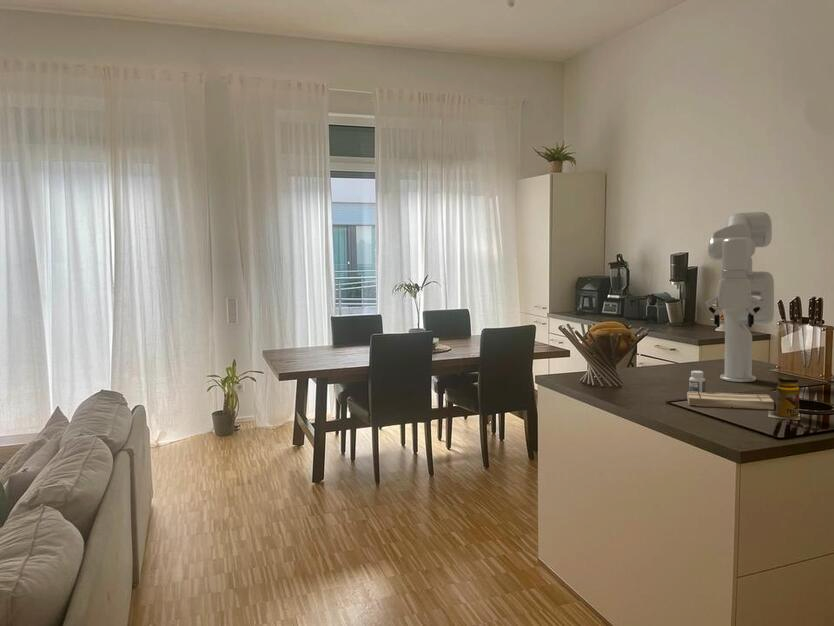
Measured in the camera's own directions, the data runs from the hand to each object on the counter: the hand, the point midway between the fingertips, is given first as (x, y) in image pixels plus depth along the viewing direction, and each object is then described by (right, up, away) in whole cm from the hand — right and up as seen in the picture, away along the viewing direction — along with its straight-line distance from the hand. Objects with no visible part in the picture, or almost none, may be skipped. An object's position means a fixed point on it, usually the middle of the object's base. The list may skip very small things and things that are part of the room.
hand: (733, 326), depth 210 cm
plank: (-1, -26, +1) cm, 26 cm away
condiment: (+8, -28, -15) cm, 32 cm away
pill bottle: (-6, -25, +13) cm, 29 cm away
